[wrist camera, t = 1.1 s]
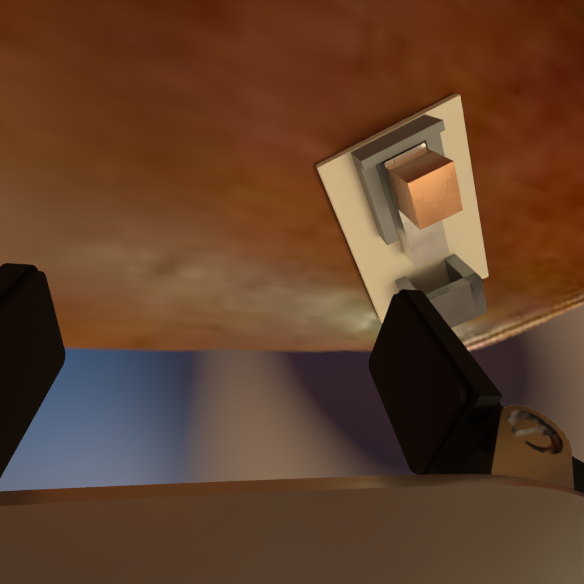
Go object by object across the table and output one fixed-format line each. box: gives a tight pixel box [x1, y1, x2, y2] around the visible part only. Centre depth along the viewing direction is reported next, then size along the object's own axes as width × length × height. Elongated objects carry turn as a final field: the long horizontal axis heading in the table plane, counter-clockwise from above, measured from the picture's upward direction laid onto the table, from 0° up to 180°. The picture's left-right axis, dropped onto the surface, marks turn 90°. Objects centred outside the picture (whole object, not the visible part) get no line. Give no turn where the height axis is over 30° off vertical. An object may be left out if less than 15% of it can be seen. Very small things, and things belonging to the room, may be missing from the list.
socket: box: [395, 254, 488, 328], centre depth 38 cm, size 7×5×5 cm
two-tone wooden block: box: [376, 142, 463, 267], centre depth 31 cm, size 3×11×7 cm, turn 25°
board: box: [315, 94, 488, 323], centre depth 35 cm, size 13×20×4 cm, turn 25°
